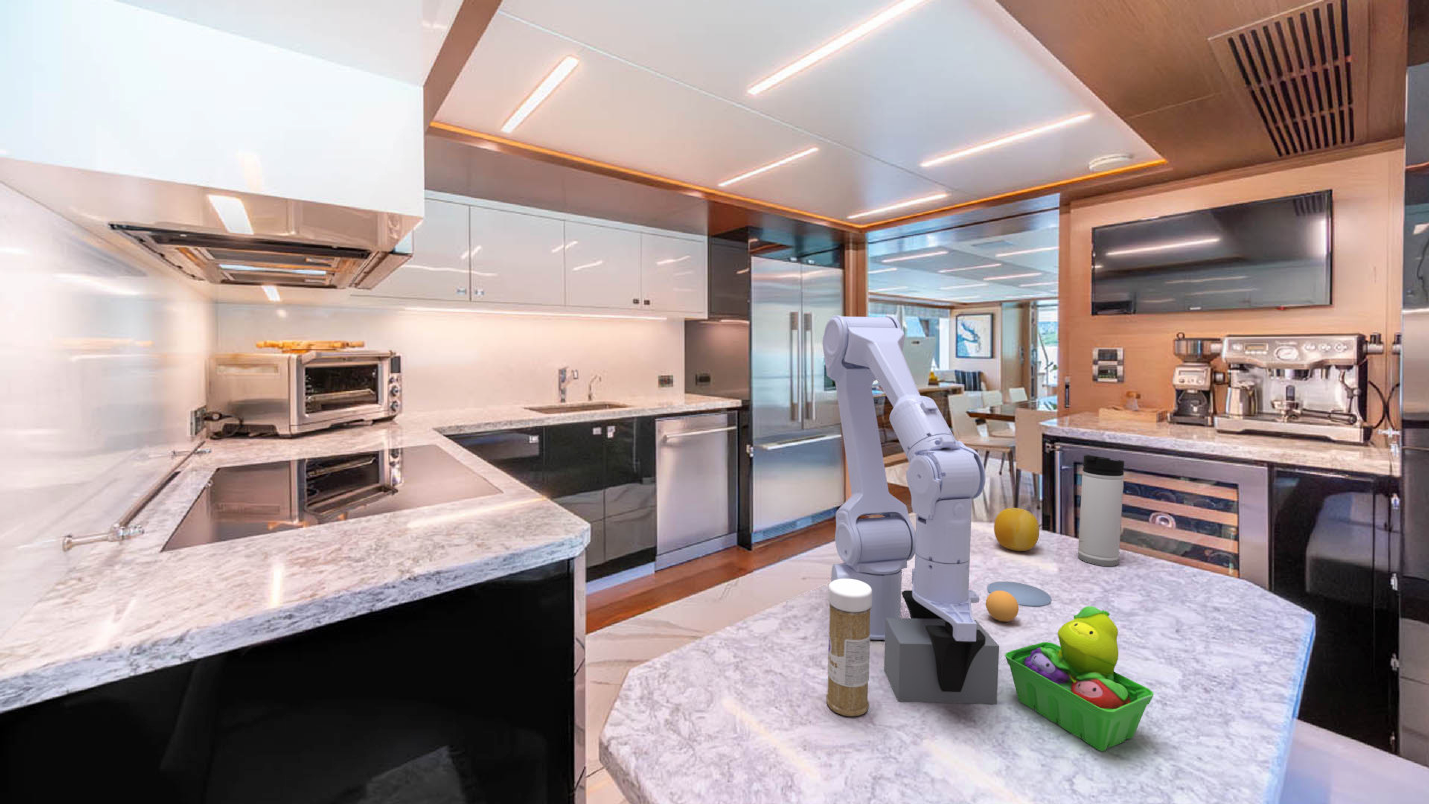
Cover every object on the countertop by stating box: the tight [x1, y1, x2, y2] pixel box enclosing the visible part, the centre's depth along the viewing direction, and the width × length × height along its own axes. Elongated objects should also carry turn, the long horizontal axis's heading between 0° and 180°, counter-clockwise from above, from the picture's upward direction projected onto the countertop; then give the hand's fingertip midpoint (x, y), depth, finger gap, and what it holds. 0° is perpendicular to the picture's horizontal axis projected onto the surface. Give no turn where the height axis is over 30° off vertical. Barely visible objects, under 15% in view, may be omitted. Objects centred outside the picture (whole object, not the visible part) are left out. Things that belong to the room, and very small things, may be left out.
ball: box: [985, 591, 1020, 623], centre depth 79 cm, size 4×4×4 cm
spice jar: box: [826, 579, 872, 717], centre depth 59 cm, size 5×5×14 cm
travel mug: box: [1077, 454, 1125, 567], centre depth 102 cm, size 6×7×20 cm
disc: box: [986, 581, 1052, 607], centre depth 88 cm, size 9×9×1 cm
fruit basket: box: [1004, 605, 1154, 752], centre depth 58 cm, size 11×9×11 cm
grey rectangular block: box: [883, 617, 1000, 705], centre depth 63 cm, size 11×6×7 cm, turn 87°
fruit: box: [993, 507, 1040, 552], centre depth 109 cm, size 9×8×8 cm
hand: (938, 670), depth 63 cm, fingers open, 7 cm apart
